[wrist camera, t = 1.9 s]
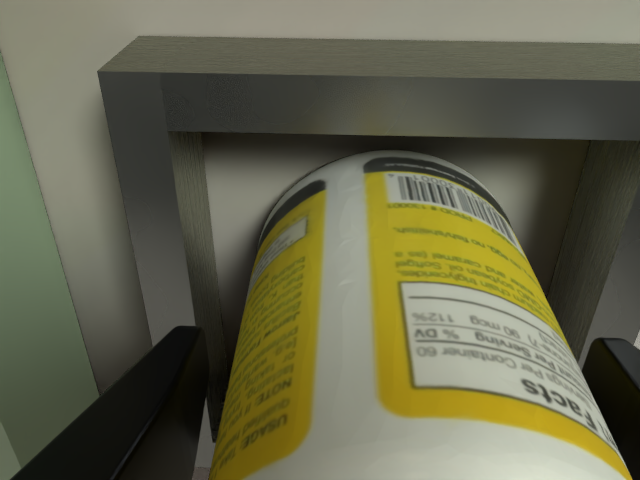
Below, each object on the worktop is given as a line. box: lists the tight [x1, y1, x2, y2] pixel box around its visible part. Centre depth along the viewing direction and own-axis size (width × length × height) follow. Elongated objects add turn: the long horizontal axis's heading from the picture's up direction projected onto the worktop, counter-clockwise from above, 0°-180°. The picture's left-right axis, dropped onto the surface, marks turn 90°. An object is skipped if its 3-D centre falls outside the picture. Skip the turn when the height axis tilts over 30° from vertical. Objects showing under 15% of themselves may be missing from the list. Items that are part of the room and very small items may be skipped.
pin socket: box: [97, 36, 640, 468], centre depth 10 cm, size 8×8×2 cm
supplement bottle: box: [208, 150, 632, 480], centre depth 8 cm, size 5×5×8 cm
